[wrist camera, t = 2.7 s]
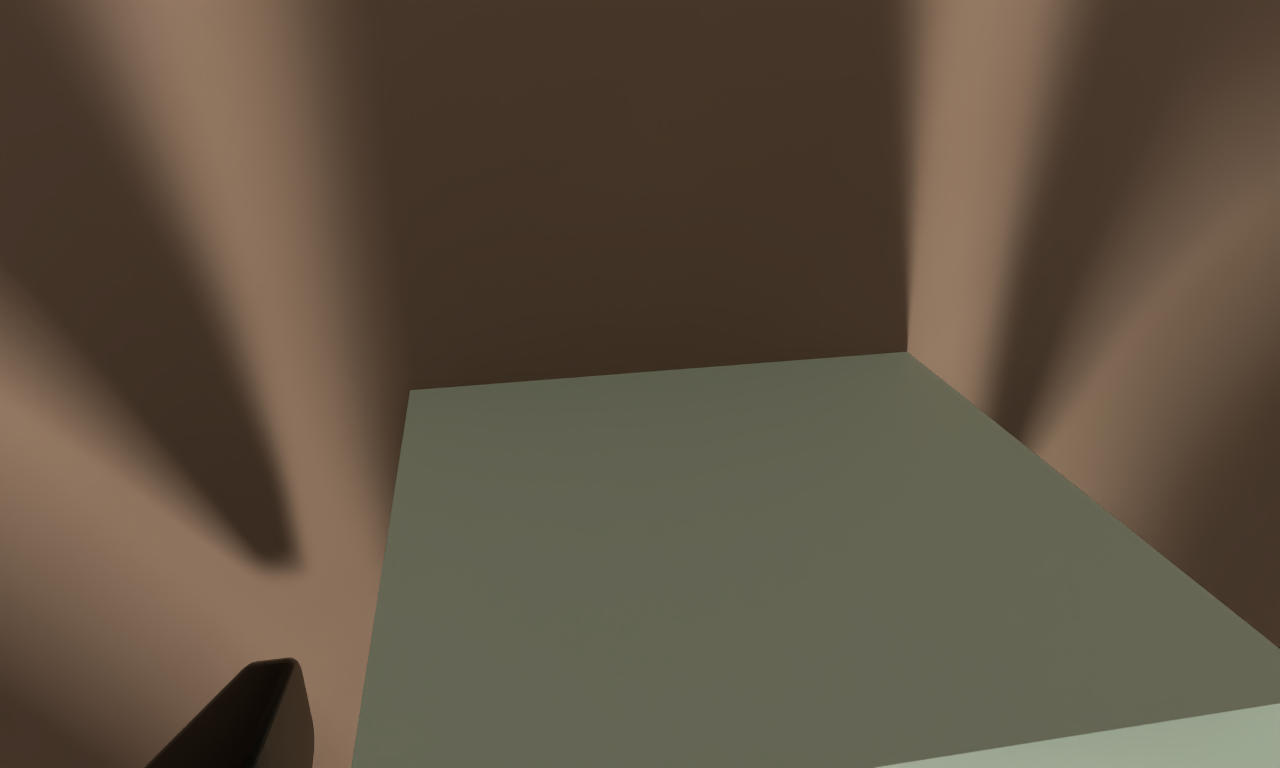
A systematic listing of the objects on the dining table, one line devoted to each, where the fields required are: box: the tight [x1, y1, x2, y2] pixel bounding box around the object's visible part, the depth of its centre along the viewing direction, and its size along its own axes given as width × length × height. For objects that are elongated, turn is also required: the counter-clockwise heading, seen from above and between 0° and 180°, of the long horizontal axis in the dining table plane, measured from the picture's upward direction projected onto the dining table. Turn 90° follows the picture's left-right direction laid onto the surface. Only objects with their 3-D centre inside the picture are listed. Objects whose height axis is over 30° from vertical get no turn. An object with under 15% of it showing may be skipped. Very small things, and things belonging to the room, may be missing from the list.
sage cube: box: [351, 352, 1280, 768], centre depth 7 cm, size 5×5×5 cm
